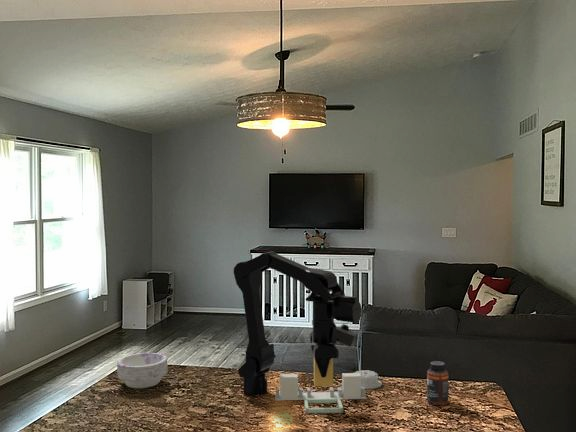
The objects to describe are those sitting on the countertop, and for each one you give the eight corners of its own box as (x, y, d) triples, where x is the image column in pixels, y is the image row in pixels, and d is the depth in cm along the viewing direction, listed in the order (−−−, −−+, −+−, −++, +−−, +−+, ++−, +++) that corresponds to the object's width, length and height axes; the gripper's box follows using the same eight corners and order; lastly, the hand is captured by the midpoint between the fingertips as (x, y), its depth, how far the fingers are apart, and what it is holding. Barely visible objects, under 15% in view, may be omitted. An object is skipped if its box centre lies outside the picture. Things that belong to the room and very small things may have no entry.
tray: (306, 416, 157) (306, 409, 156) (304, 405, 165) (304, 398, 164) (343, 416, 157) (343, 408, 157) (339, 405, 165) (339, 398, 165)
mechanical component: (382, 393, 175) (380, 382, 185) (382, 378, 175) (380, 368, 185) (349, 392, 176) (349, 381, 186) (349, 377, 176) (349, 367, 186)
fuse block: (275, 403, 166) (275, 393, 166) (275, 396, 172) (274, 386, 172) (366, 402, 167) (366, 391, 167) (363, 394, 173) (363, 384, 173)
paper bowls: (107, 389, 179) (107, 363, 178) (134, 374, 193) (134, 350, 193) (151, 394, 174) (151, 367, 174) (176, 378, 189) (176, 354, 188)
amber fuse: (314, 386, 159) (314, 356, 159) (313, 382, 162) (313, 353, 162) (333, 386, 159) (333, 356, 159) (331, 382, 162) (331, 353, 162)
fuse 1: (280, 398, 168) (280, 377, 167) (280, 394, 171) (280, 374, 170) (298, 397, 168) (298, 377, 168) (297, 394, 171) (297, 373, 171)
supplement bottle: (450, 400, 168) (450, 361, 168) (446, 407, 163) (446, 367, 163) (429, 397, 171) (429, 359, 170) (424, 404, 166) (425, 364, 165)
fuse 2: (343, 397, 168) (343, 376, 168) (342, 393, 171) (342, 373, 171) (360, 396, 169) (360, 376, 168) (359, 393, 172) (359, 373, 171)
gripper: (358, 326, 151) (357, 386, 151) (348, 311, 169) (347, 364, 170) (314, 326, 150) (314, 386, 151) (309, 311, 169) (309, 365, 170)
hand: (323, 375), depth 160 cm, fingers closed on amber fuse, 3 cm apart
